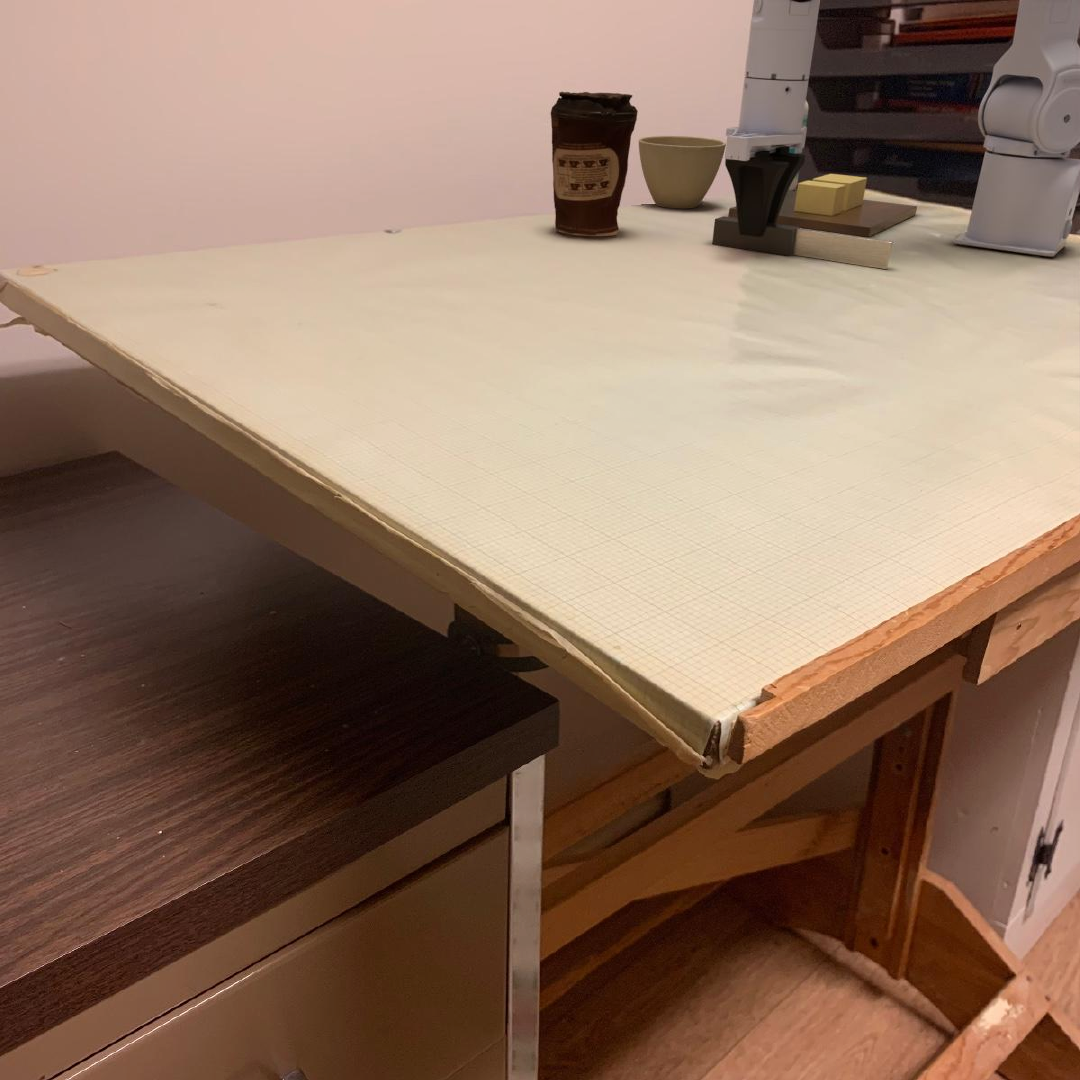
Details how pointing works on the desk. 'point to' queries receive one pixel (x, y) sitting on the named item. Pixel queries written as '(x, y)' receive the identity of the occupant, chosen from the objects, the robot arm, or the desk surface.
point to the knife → (805, 243)
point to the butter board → (844, 217)
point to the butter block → (847, 188)
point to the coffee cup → (590, 160)
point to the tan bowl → (680, 168)
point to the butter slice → (819, 198)
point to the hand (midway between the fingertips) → (755, 233)
